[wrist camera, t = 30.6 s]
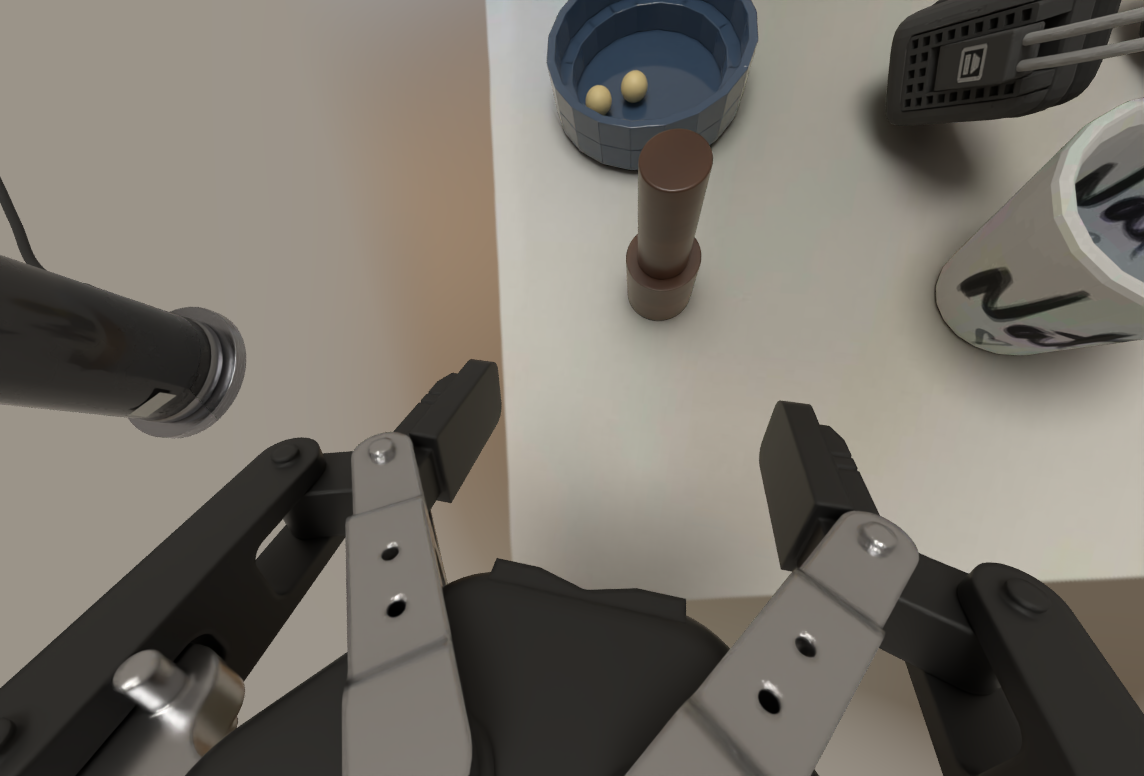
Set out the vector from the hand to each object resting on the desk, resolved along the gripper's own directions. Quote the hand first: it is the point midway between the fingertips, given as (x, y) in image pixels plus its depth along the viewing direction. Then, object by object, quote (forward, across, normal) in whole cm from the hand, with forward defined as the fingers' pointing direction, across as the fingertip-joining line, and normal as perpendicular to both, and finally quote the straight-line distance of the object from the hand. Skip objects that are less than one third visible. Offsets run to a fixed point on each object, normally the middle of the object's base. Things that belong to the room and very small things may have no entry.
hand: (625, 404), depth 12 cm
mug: (+22, -22, +1) cm, 31 cm away
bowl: (+31, +2, -8) cm, 32 cm away
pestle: (+19, 0, +4) cm, 20 cm away
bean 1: (+28, +6, -7) cm, 30 cm away
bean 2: (+29, +3, -8) cm, 30 cm away
